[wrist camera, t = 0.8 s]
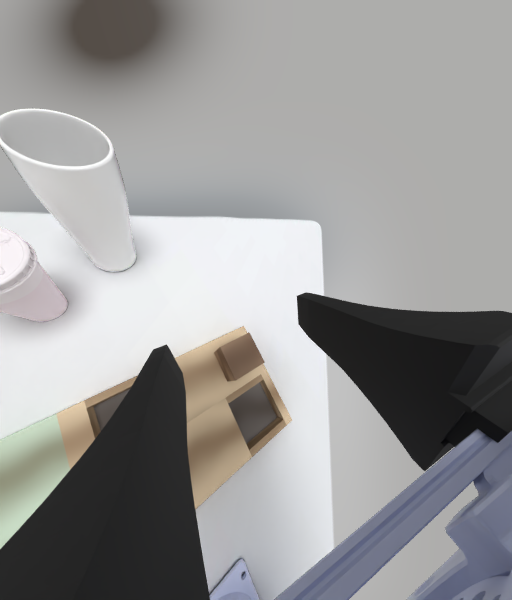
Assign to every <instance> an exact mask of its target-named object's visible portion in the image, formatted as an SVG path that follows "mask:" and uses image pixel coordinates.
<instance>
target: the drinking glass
mask: <svg viewBox="0 0 512 600" xmlns="http://www.w3.org/2000/svg"><path fill="white" fill-rule="evenodd" d="M0 146H1V148H2V150H3V151H4V153H5V154H6V156H7V157H8V159H9V160H10V161H11V163H12V164H13V166H14V167H15V169H16V170H17V172H18V173H19V175H20V176H21V177H22V179H23V180H24V182H25V183H26V184H27V185H28V187H29V188H30V189H31V191H32V192H33V193H34V194H35V196H36V197H37V198H38V199H39V201H40V202H41V203H42V204H43V205H44V206H45V207H46V209H47V210H48V211H49V212H50V213H51V214H52V215H53V217H54V218H55V219H56V220H57V221H58V222H59V223H60V225H61V226H62V227H63V228H64V229H65V230H66V231H67V232H68V234H69V235H70V236H71V237H72V238H73V239H74V241H75V242H76V243H77V244H78V245H79V246H80V247H81V249H82V250H83V251H84V252H85V253H86V254H87V256H88V257H89V259H90V260H91V262H92V263H93V264H94V265H95V266H97V267H98V268H100V269H102V270H105V271H111V272H117V271H122V270H125V269H127V268H129V267H131V266H132V265H133V264H134V262H135V260H136V251H135V247H134V243H133V237H132V230H131V223H130V216H129V210H128V203H127V196H126V191H125V186H124V182H123V178H122V174H121V171H120V167H119V164H118V160H117V158H116V154H115V151H114V147H113V145H112V143H111V141H110V140H109V138H108V137H107V136H106V135H105V134H104V133H103V132H102V131H101V130H99V129H98V128H97V127H95V126H93V125H92V124H90V123H88V122H86V121H84V120H82V119H79V118H77V117H74V116H71V115H69V114H65V113H62V112H57V111H52V110H45V109H19V110H13V111H9V112H7V113H4V114H2V115H1V116H0Z"/></svg>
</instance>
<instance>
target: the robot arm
mask: <svg viewBox="0 0 512 600" xmlns="http://www.w3.org/2000/svg"><path fill="white" fill-rule="evenodd" d="M297 305H298V322H299V325H300V327H301V328H302V329H303V330H304V332H305V333H306V334H307V335H308V337H309V338H310V339H311V340H312V341H313V342H314V343H316V344H317V345H318V346H319V347H320V348H321V349H322V350H323V351H324V352H325V353H326V354H327V355H328V356H330V358H331V359H333V360H334V361H335V362H336V363H337V364H338V365H339V366H340V367H341V368H342V369H343V370H344V371H345V373H346V374H347V375H348V376H349V377H350V378H351V379H352V381H353V382H354V383H355V384H356V385H357V386H358V388H359V389H360V390H361V391H362V392H363V394H364V395H365V396H366V397H367V399H368V400H369V401H370V402H371V403H372V405H373V406H374V407H375V409H376V410H377V411H378V413H379V414H380V415H381V416H382V418H383V419H384V420H385V421H386V423H387V424H388V425H389V427H390V428H391V430H392V431H393V432H394V434H395V435H396V437H397V438H398V439H399V441H400V442H401V443H402V445H403V446H404V448H405V449H406V451H407V452H408V453H409V455H410V456H411V458H412V459H413V460H414V461H415V462H416V463H417V464H418V465H419V466H420V467H421V468H422V469H423V470H424V471H426V470H427V469H428V468H429V467H430V466H432V465H433V464H434V463H435V462H436V461H438V460H439V459H440V458H441V457H442V456H443V455H445V454H446V453H447V452H448V451H449V450H451V449H452V448H453V447H455V448H454V449H452V450H451V451H450V452H449V453H448V454H446V455H445V456H444V457H443V458H442V459H440V460H439V461H438V462H437V463H436V464H435V465H433V466H432V467H431V468H430V469H429V470H427V471H426V472H425V473H424V474H423V475H421V476H420V477H419V478H418V479H417V480H415V481H414V482H413V483H412V484H411V485H410V486H408V487H407V488H406V489H405V490H404V491H402V492H401V493H400V494H399V495H398V496H397V497H395V498H394V499H393V500H392V501H391V502H389V503H388V504H387V505H386V506H385V507H383V508H382V509H381V510H380V511H379V512H378V513H376V514H375V515H374V516H373V517H372V518H371V519H369V520H368V521H367V522H366V523H364V524H363V525H362V526H361V527H360V528H358V529H357V530H356V531H355V532H354V533H352V534H351V535H350V536H349V537H348V538H347V539H345V540H344V541H343V542H342V543H341V544H339V545H338V546H337V547H336V548H335V549H333V550H332V551H331V552H330V553H329V554H327V555H326V556H325V557H324V558H323V559H322V560H320V561H319V562H318V563H317V564H316V565H314V566H313V567H312V568H311V569H310V570H308V571H307V572H306V573H305V574H304V575H303V576H301V577H300V578H299V579H298V580H297V581H295V582H294V583H293V584H292V585H291V586H289V587H288V588H287V589H286V590H285V591H283V592H282V593H281V594H280V595H279V596H278V597H276V598H275V599H274V600H349V599H350V598H351V597H352V596H353V595H354V594H355V593H356V592H357V591H358V590H359V589H360V588H361V587H362V586H363V585H364V584H366V582H367V581H369V580H370V579H371V578H372V577H373V576H374V575H375V574H376V573H377V572H378V571H379V570H380V569H381V568H382V567H383V566H384V565H385V564H386V563H387V562H388V561H390V560H391V558H393V557H394V556H395V555H396V554H397V553H398V552H399V551H400V550H401V549H402V548H403V547H404V546H405V545H406V544H407V543H409V542H410V540H412V539H413V538H414V537H415V536H416V535H417V534H418V533H419V532H420V531H421V530H422V529H423V528H424V527H425V526H426V525H427V524H428V523H429V522H431V521H432V519H434V518H435V517H436V516H437V515H438V514H439V513H440V512H441V511H442V510H443V509H444V508H445V507H446V506H447V505H448V504H449V503H450V502H451V501H453V500H454V499H455V498H456V497H457V496H458V495H459V494H460V493H461V492H462V491H463V490H464V489H465V488H466V487H467V486H468V485H469V484H470V483H471V482H472V481H474V485H475V487H476V489H477V490H478V493H479V496H477V497H476V498H475V499H474V500H472V501H471V502H470V503H469V504H467V505H466V506H465V507H463V508H462V509H461V510H460V511H459V512H458V513H457V514H456V515H455V516H454V517H453V519H452V520H451V521H450V522H449V524H448V525H447V526H446V527H445V529H446V533H447V534H448V535H449V536H450V538H451V539H452V540H453V541H454V542H455V543H456V545H457V546H458V547H459V549H458V550H457V551H456V552H455V553H454V554H453V555H452V556H451V557H450V558H449V559H448V560H447V561H446V562H445V563H444V564H443V565H442V566H441V567H440V568H438V569H437V570H436V571H435V572H434V573H433V574H432V575H431V576H430V577H429V578H428V579H427V580H426V581H425V582H424V583H423V584H422V585H421V586H420V587H419V588H418V589H417V590H415V592H413V593H412V594H411V595H410V596H409V597H408V598H407V599H406V600H512V313H509V312H504V311H481V312H427V311H411V310H398V309H389V308H381V307H374V306H367V305H362V304H357V303H351V302H347V301H342V300H338V299H334V298H329V297H325V296H321V295H317V294H312V293H304V294H301V295H298V296H297ZM243 571H245V574H244V575H243V576H241V574H242V572H243ZM0 600H260V599H259V597H258V594H257V592H256V589H255V587H254V584H253V582H252V579H251V577H250V574H249V572H248V569H247V567H246V564H245V561H244V560H243V559H240V560H239V561H238V562H237V563H236V564H235V565H234V567H233V568H232V569H231V570H230V571H229V573H228V574H227V575H226V576H225V577H224V579H223V580H222V581H221V582H220V584H219V585H218V586H217V587H216V588H215V590H214V591H213V592H212V593H211V595H210V596H209V591H208V585H207V580H206V574H205V568H204V562H203V556H202V550H201V544H200V538H199V531H198V525H197V518H196V512H195V504H194V497H193V490H192V483H191V474H190V466H189V458H188V446H187V412H186V390H185V383H184V377H183V372H182V371H181V369H180V367H179V365H178V363H177V362H176V360H175V358H174V356H173V355H172V353H171V351H170V349H169V347H168V346H167V345H164V346H162V347H159V348H156V349H154V350H153V351H152V353H151V354H150V356H149V358H148V360H147V361H146V363H145V365H144V366H143V368H142V370H141V372H140V373H139V375H138V377H137V378H136V380H135V381H134V383H133V385H132V386H131V388H130V390H129V391H128V393H127V394H126V396H125V397H124V399H123V400H122V402H121V403H120V405H119V406H118V408H117V409H116V411H115V412H114V414H113V415H112V417H111V418H110V420H109V421H108V422H107V424H106V425H105V426H104V428H103V429H102V431H101V432H100V433H99V434H98V436H97V437H96V438H95V440H94V441H93V442H92V444H91V445H90V446H89V447H88V449H87V450H86V451H85V453H84V454H83V455H82V456H81V458H80V459H79V460H78V461H77V462H76V464H75V465H74V466H73V467H72V468H71V469H70V471H69V472H68V473H67V474H66V475H65V477H64V478H63V479H62V480H61V481H60V483H59V484H58V485H57V486H56V487H55V489H54V490H53V491H52V492H51V493H50V494H49V496H48V497H47V498H46V499H45V500H44V501H43V503H42V504H41V505H40V506H39V507H38V508H37V509H36V510H35V512H34V513H33V514H32V515H31V516H30V517H29V518H28V519H27V520H26V522H25V523H24V524H23V525H22V526H21V527H20V528H19V529H18V530H17V532H16V533H15V534H14V535H13V536H12V537H11V538H10V539H9V540H8V541H7V542H6V543H5V545H4V546H3V547H2V548H1V549H0Z"/></svg>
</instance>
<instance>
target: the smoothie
mask: <svg viewBox="0 0 512 600" xmlns="http://www.w3.org/2000/svg"><path fill="white" fill-rule="evenodd" d="M67 306H68V302H67V299H66V298H65V297H64V295H63V294H62V293H61V291H60V290H59V289H58V287H57V286H56V285H55V283H54V282H53V281H52V280H51V278H50V277H49V276H48V274H47V273H46V272H45V270H44V269H43V268H42V266H41V265H40V264H39V262H38V261H37V255H36V252H35V250H34V249H33V248H32V246H31V245H30V244H29V243H28V242H26V241H25V240H24V239H23V238H22V237H20V236H19V235H18V234H16V233H15V232H13V231H11V230H8V229H6V228H3V227H0V312H2V313H6V314H10V315H13V316H17V317H21V318H25V319H29V320H32V321H37V322H45V321H50V320H53V319H56V318H58V317H59V316H61V315H62V314H63V313H64V312H65V311H66V309H67Z"/></svg>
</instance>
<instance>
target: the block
mask: <svg viewBox="0 0 512 600" xmlns="http://www.w3.org/2000/svg"><path fill="white" fill-rule="evenodd" d="M214 354H215V356H216V358H217V360H218V363H219V365H220V367H221V369H222V371H223V373H224V376H225V378H226V380H227V382H228V381H236V380H238V379H239V378H241V377H242V376H244V375H246V374H247V373H249V372H250V371H252V370H253V369H255V368H257V367H258V366H260V365H261V364H263V363H265V362H264V360H263V358H262V356H261V354H260V352H259V350H258V348H257V347H256V345H255V343H254V341H253V339H252V337H251V335H250V333H247V334H245V335H243V336H241V337H239V338H237V339H235V340H233V341H231V342H229V343H227V344H225V345H223V346H221V347H219V348H218V349H217V350H216V351H215V352H214Z"/></svg>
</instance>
